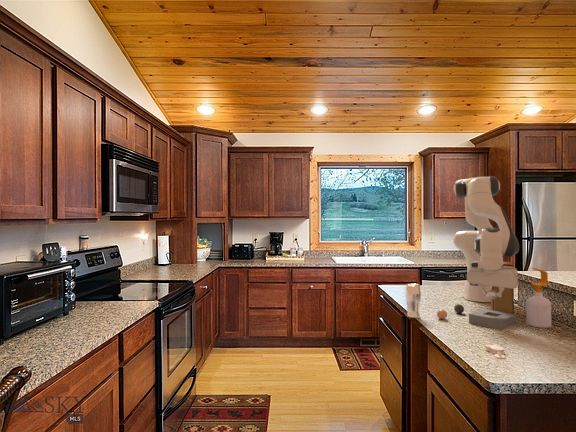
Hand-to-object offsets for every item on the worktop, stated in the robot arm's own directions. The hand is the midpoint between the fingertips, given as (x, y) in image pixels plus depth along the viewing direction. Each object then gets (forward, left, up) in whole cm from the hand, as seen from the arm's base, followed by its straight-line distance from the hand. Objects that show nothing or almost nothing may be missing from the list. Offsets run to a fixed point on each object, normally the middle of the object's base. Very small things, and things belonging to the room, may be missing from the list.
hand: (491, 296), depth 168 cm
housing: (0, 0, -12) cm, 12 cm away
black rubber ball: (-6, -18, -12) cm, 22 cm away
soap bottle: (-12, +14, -12) cm, 22 cm away
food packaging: (-18, -3, -12) cm, 22 cm away
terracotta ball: (+10, -18, -12) cm, 24 cm away
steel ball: (0, 0, -2) cm, 2 cm away
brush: (+37, +16, -13) cm, 42 cm away
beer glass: (+16, -29, -12) cm, 35 cm away
